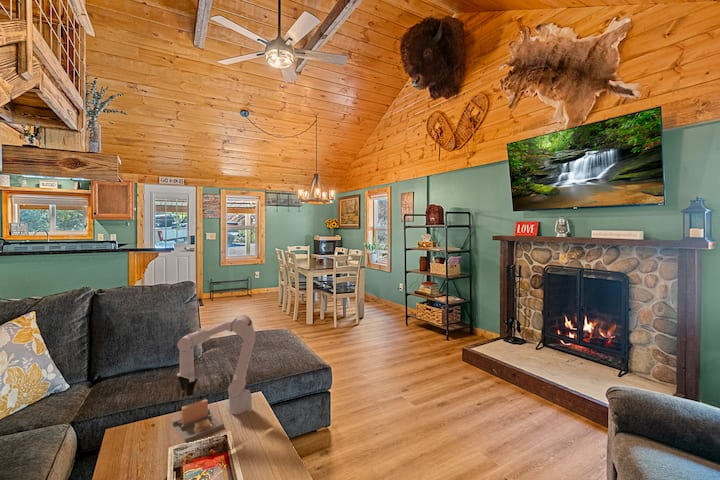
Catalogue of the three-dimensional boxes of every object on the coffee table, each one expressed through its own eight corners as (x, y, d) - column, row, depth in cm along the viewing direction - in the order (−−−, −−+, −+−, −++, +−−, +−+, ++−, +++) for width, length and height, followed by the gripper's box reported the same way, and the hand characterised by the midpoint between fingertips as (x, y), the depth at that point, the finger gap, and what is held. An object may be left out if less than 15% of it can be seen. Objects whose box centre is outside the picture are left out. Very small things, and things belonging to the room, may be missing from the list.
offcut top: (208, 422, 142) (208, 419, 142) (210, 426, 139) (210, 422, 139) (194, 427, 139) (194, 423, 139) (196, 431, 136) (196, 427, 136)
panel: (206, 416, 149) (206, 399, 149) (207, 418, 148) (207, 400, 148) (181, 425, 142) (181, 407, 142) (183, 427, 141) (183, 409, 141)
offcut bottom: (207, 425, 143) (207, 421, 143) (212, 428, 140) (212, 425, 140) (193, 431, 138) (193, 428, 138) (198, 435, 136) (198, 431, 136)
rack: (209, 413, 153) (209, 408, 153) (224, 429, 141) (224, 423, 141) (172, 427, 143) (172, 421, 143) (185, 445, 131) (185, 439, 131)
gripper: (172, 360, 154) (172, 389, 155) (182, 369, 144) (182, 401, 144) (188, 356, 159) (189, 385, 160) (199, 365, 149) (199, 395, 149)
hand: (187, 392), depth 152 cm, fingers open, 7 cm apart
